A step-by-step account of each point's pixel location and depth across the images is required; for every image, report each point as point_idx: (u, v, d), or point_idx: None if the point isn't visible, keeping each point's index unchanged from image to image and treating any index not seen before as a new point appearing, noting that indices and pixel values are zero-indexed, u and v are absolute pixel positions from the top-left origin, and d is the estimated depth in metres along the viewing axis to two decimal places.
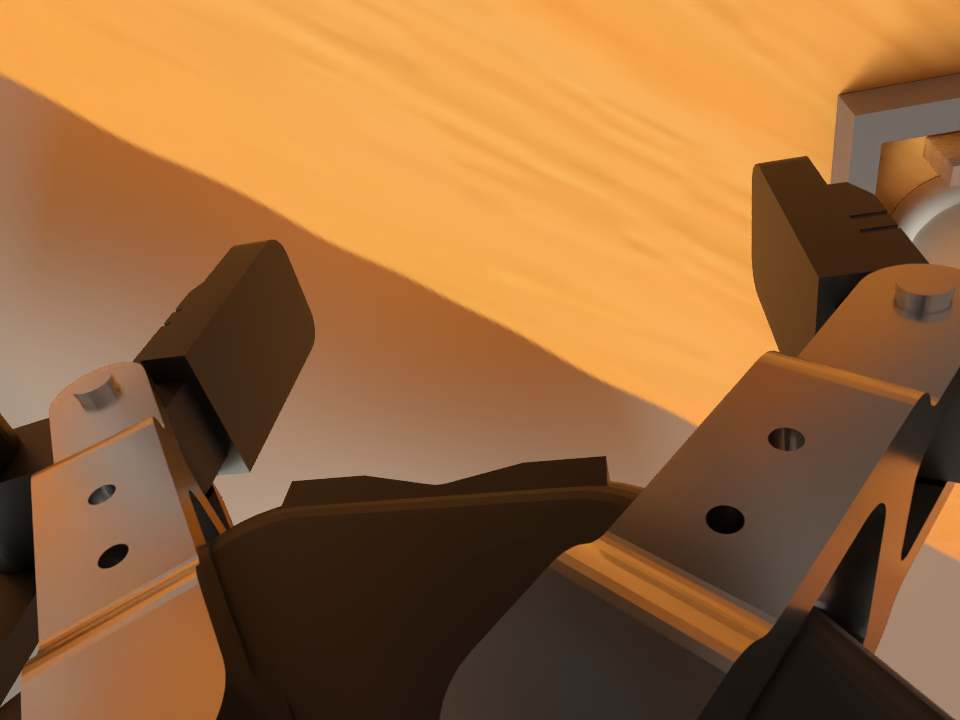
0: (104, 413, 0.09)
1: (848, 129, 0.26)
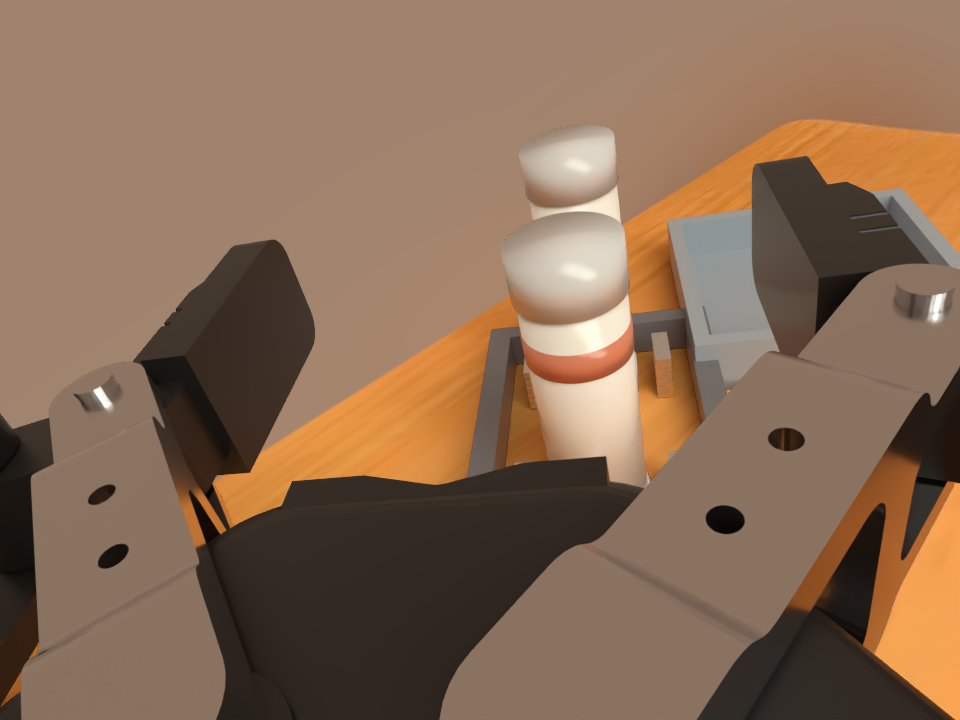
0: (104, 413, 0.09)
1: None
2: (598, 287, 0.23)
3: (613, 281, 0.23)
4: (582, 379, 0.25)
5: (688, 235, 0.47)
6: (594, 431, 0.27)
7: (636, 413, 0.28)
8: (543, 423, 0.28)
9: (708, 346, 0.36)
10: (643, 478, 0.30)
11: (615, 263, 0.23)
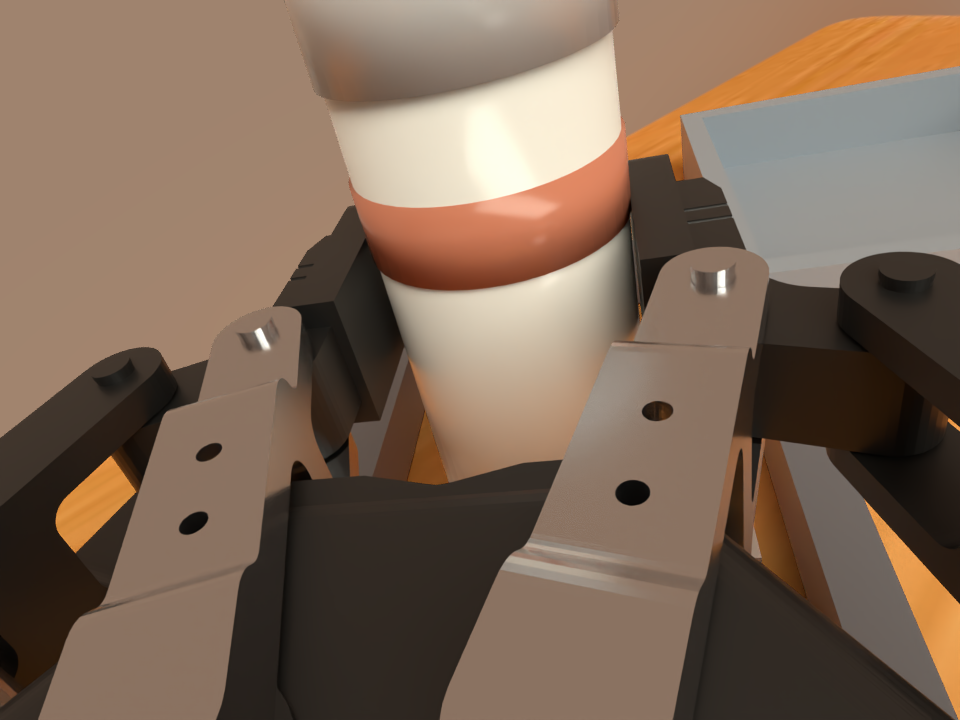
0: (254, 356, 0.09)
1: None
2: None
3: None
4: (496, 277, 0.10)
5: (712, 136, 0.31)
6: (537, 417, 0.11)
7: None
8: (425, 403, 0.12)
9: None
10: None
11: None
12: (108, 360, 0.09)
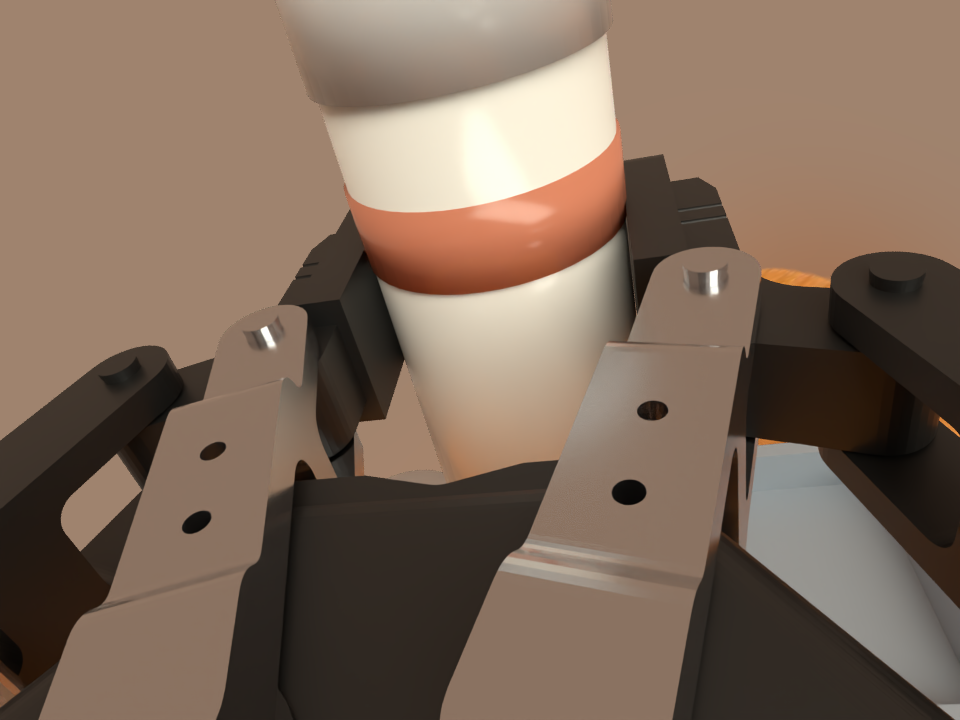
0: (259, 355, 0.09)
1: None
2: None
3: None
4: (492, 281, 0.10)
5: None
6: (534, 421, 0.11)
7: None
8: (423, 407, 0.12)
9: None
10: None
11: None
12: (114, 358, 0.09)
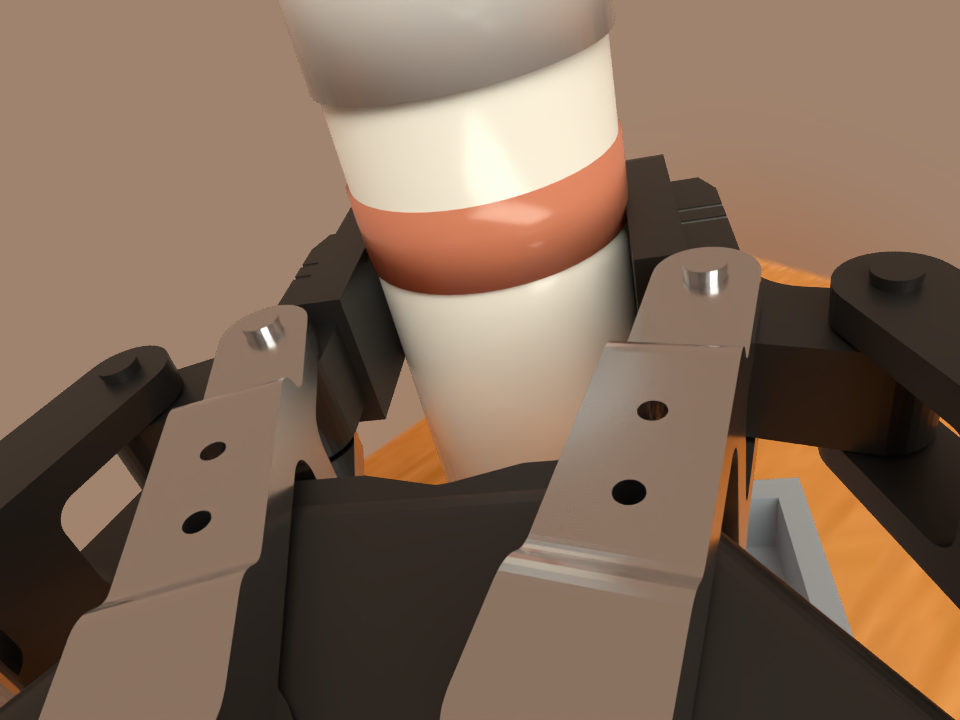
0: (260, 355, 0.09)
1: None
2: None
3: None
4: (494, 281, 0.10)
5: None
6: (536, 421, 0.11)
7: None
8: (424, 408, 0.12)
9: None
10: None
11: None
12: (114, 358, 0.09)
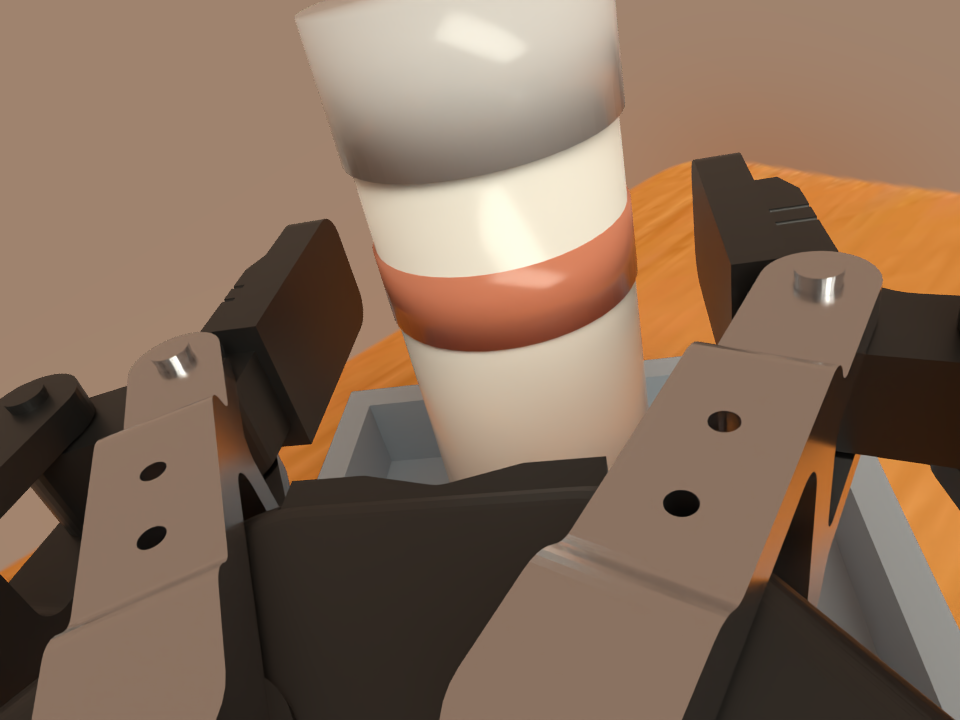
0: (176, 382, 0.09)
1: None
2: (537, 63, 0.08)
3: (580, 58, 0.09)
4: (511, 340, 0.10)
5: (390, 425, 0.22)
6: None
7: None
8: (441, 450, 0.13)
9: None
10: None
11: (586, 4, 0.08)
12: (20, 388, 0.09)
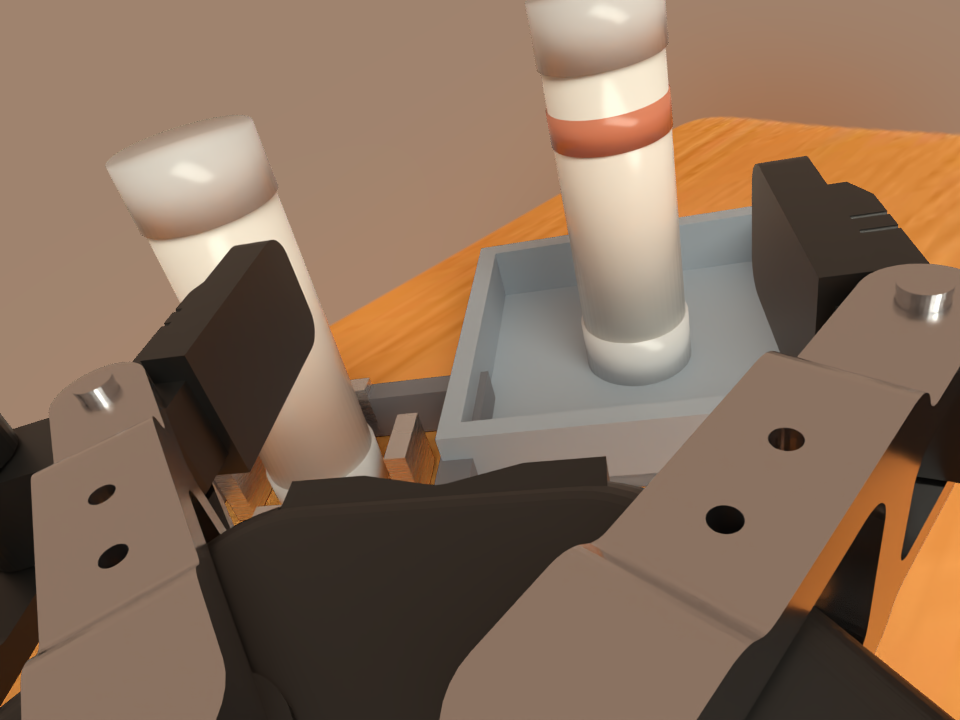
0: (104, 413, 0.09)
1: None
2: (635, 22, 0.21)
3: (652, 20, 0.21)
4: (617, 150, 0.23)
5: (507, 268, 0.35)
6: (630, 220, 0.24)
7: (675, 208, 0.25)
8: (572, 225, 0.26)
9: (454, 440, 0.25)
10: (681, 295, 0.27)
11: None
12: None
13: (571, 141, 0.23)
